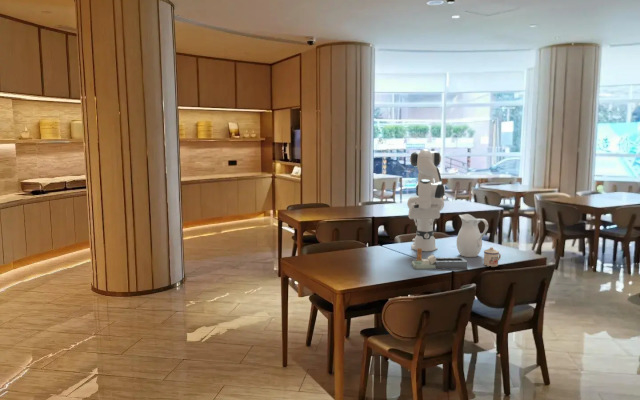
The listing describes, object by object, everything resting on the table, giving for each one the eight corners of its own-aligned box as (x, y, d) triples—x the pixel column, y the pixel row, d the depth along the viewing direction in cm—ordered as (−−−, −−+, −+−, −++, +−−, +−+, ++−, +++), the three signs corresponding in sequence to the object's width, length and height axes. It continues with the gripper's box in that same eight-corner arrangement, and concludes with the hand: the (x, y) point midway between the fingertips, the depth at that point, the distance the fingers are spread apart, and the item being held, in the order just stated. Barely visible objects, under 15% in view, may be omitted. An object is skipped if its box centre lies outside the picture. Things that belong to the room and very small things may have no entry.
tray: (411, 264, 325) (411, 261, 324) (431, 264, 325) (431, 260, 325) (414, 269, 315) (414, 265, 314) (435, 268, 315) (435, 264, 315)
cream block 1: (427, 265, 322) (421, 265, 322) (428, 259, 321) (421, 259, 321) (429, 266, 318) (423, 266, 318) (429, 260, 317) (423, 260, 317)
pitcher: (450, 254, 352) (452, 214, 348) (469, 251, 360) (470, 213, 356) (475, 261, 331) (477, 220, 327) (494, 258, 339) (496, 218, 335)
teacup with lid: (490, 267, 317) (490, 249, 316) (480, 264, 326) (481, 246, 324) (505, 265, 322) (505, 247, 320) (495, 262, 330) (495, 244, 329)
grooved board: (431, 264, 325) (431, 257, 325) (462, 264, 326) (462, 257, 325) (435, 268, 315) (435, 261, 314) (467, 268, 315) (467, 261, 315)
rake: (416, 261, 332) (416, 247, 331) (420, 261, 332) (421, 247, 331) (417, 263, 327) (418, 249, 326) (422, 263, 327) (422, 249, 326)
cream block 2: (430, 262, 321) (427, 257, 321) (435, 259, 321) (432, 254, 321) (431, 264, 318) (428, 259, 317) (437, 261, 317) (434, 256, 317)
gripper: (439, 203, 331) (438, 224, 333) (408, 203, 330) (407, 224, 333) (441, 205, 324) (440, 226, 327) (410, 205, 324) (409, 226, 327)
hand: (423, 225), depth 330 cm, fingers open, 8 cm apart
